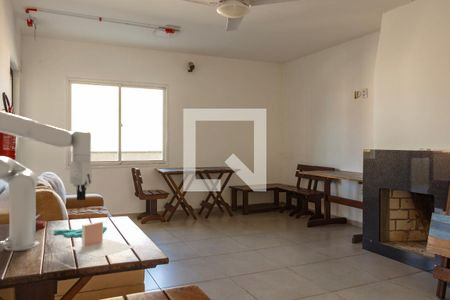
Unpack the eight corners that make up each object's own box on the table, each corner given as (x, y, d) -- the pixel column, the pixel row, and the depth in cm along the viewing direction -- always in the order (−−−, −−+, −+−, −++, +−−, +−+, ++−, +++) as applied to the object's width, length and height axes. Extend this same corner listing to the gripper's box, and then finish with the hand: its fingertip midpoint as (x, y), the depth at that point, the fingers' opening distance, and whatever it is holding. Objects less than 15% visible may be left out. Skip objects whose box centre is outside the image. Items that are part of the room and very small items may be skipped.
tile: (84, 247, 146) (84, 225, 146) (81, 246, 147) (82, 225, 147) (102, 242, 153) (103, 222, 153) (100, 241, 154) (100, 221, 154)
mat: (98, 259, 133) (98, 257, 133) (68, 249, 145) (68, 247, 145) (135, 248, 148) (135, 246, 148) (105, 240, 159) (105, 238, 159)
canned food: (36, 239, 176) (30, 223, 172) (22, 234, 180) (15, 219, 175) (53, 224, 186) (48, 209, 181) (39, 220, 189) (33, 206, 184)
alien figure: (54, 234, 169) (76, 242, 157) (54, 230, 169) (76, 237, 157) (91, 227, 185) (114, 234, 173) (91, 223, 185) (114, 229, 173)
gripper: (64, 158, 156) (63, 199, 157) (83, 159, 148) (83, 202, 148) (79, 158, 162) (79, 197, 163) (99, 159, 154) (98, 200, 154)
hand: (81, 199), depth 155 cm, fingers closed
